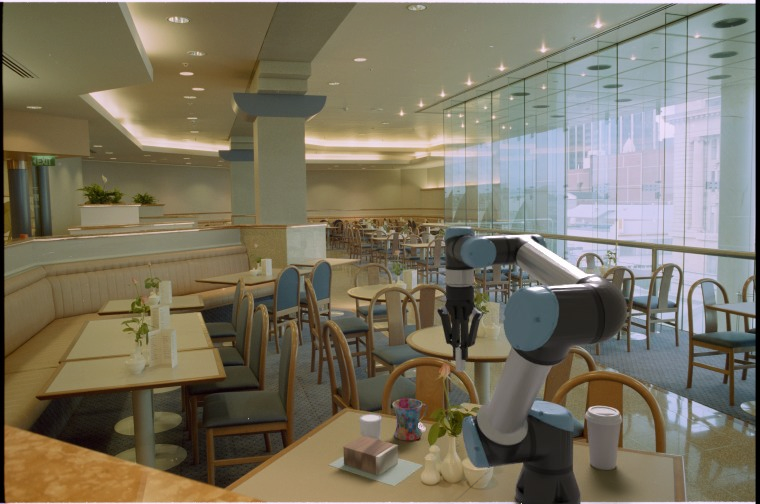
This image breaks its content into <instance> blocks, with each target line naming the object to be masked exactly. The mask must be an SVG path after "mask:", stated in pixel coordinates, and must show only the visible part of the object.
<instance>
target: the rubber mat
mask: <svg viewBox="0 0 760 504" xmlns="http://www.w3.org/2000/svg"><path fill="white" fill-rule="evenodd" d="M328 466H330V467H333V468H337V469H340V470H342V471H347V472H349V473H352V474H356V475H358V476H360V477H361V476H362V477H364V478H367V479H370V480H372V481H373V480H374V481H377V482H379V483H383V484H385V485H388V486H392V487H395V486H397V485H398V484H400V483H401V482H402V481H404V480H405V479H406V478H408V477H409V476H411V475H412V474H413V473H415V472H416V471H418V470H419V469H421V468H422V467H423V466H424V465H423V464H420V463H416V462H413V461H410V460H406V459H403V458H399V457H398V463H397V464H396V465H394V466H393V467H391V468H390V469H388V470H387V471H385V472H384V473H382V474H381V475H376V474H373V473H370V472H367V471H363V470H360V469H357V468H354V467H351V466H348V465H344V455H343V456H341V457H339V458H337V459H336V460H334V461H333V462H331V463H329V464H328Z"/></svg>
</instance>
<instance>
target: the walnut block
mask: <svg viewBox="0 0 760 504" xmlns="http://www.w3.org/2000/svg"><path fill="white" fill-rule="evenodd" d="M343 456H344V465H348V466H351V467H354V468H357V469H360V470H363V471H367V472H370V473H373V474H376V475H381V474H382V473H384V472H385V471H387V470H388V469H390V468H391V467H393V466H394V465H396V464H397V463H398V458H399V445H398V444H396V443H395V444H394V443H391V442H388V441H384V440H380V439H379V440H377V439H373V438H370V437H366V436H362V437H361V436H359V438H357V439H354V440H352V441H351V442H349V443H347V444H346V445H344V446H343Z"/></svg>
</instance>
